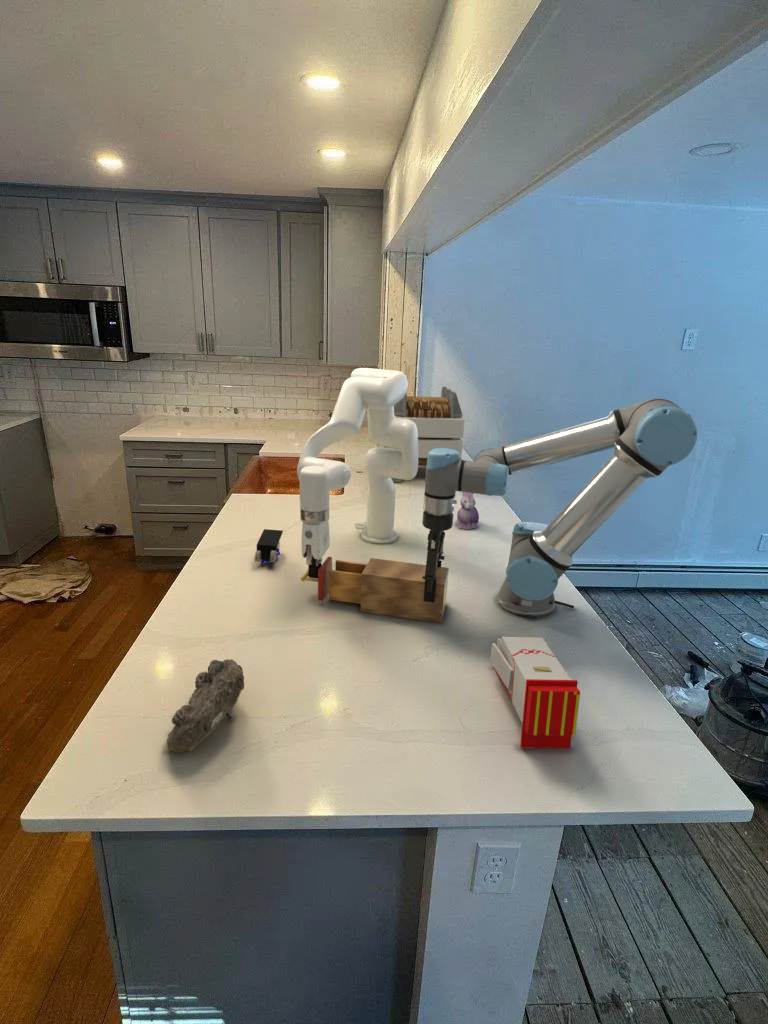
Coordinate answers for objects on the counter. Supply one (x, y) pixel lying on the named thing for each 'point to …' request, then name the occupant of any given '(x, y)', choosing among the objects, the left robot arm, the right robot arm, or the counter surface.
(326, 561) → the drawer
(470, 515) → the figurine
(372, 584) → the cabinet
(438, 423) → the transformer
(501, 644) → the toy
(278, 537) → the figurine character
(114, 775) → the counter surface
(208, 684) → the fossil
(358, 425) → the left robot arm
